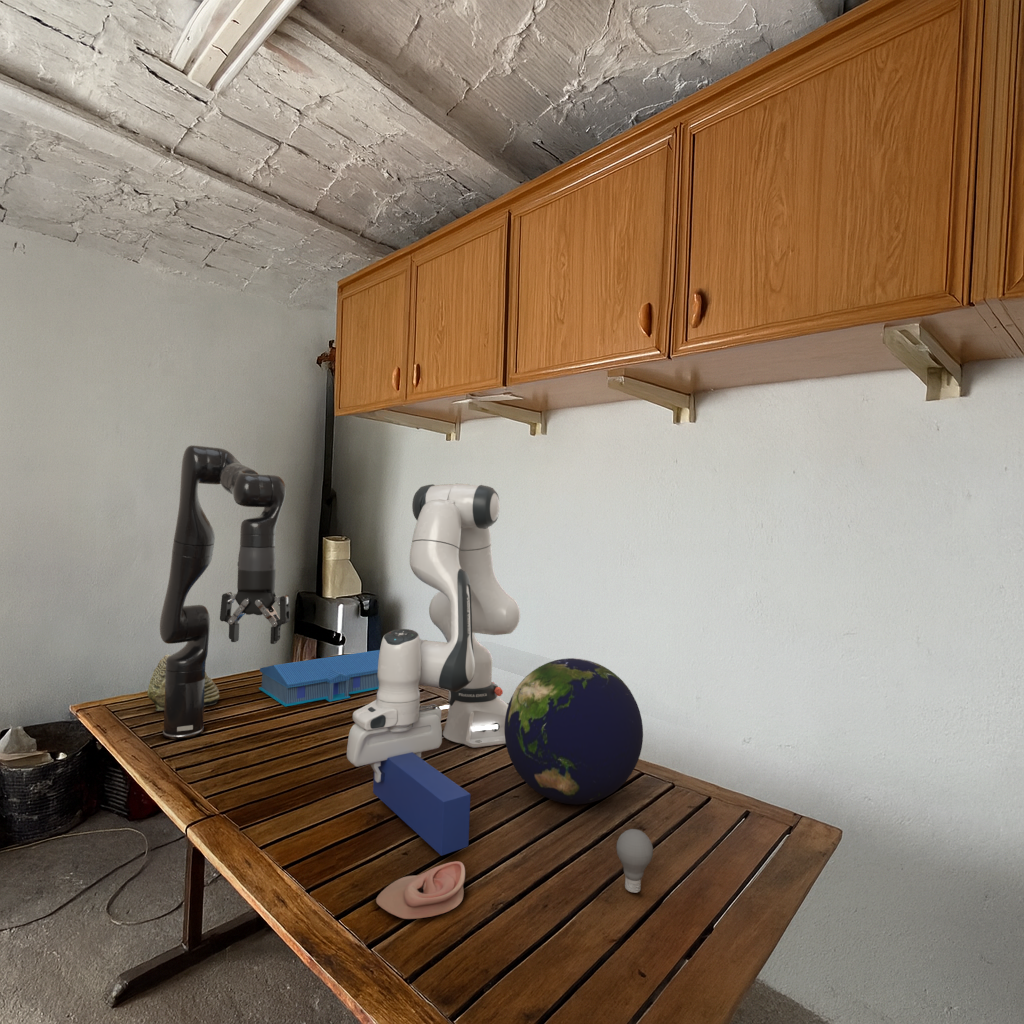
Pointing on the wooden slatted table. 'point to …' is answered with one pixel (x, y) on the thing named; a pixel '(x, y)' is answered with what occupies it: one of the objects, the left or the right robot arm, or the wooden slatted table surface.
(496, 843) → the wooden slatted table surface
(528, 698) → the globe
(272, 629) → the left robot arm
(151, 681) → the fossil
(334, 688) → the model building
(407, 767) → the bar
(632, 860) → the light bulb
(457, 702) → the right robot arm
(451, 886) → the anatomical model
